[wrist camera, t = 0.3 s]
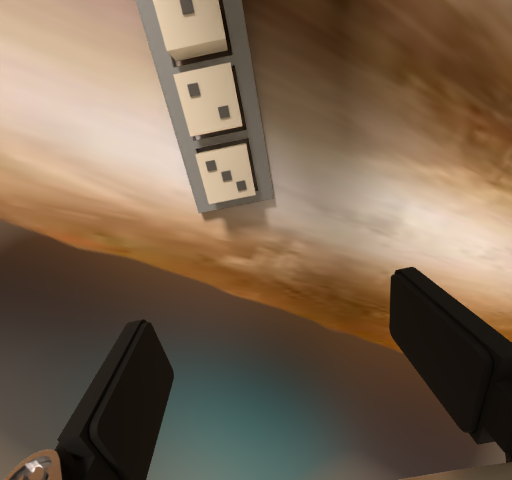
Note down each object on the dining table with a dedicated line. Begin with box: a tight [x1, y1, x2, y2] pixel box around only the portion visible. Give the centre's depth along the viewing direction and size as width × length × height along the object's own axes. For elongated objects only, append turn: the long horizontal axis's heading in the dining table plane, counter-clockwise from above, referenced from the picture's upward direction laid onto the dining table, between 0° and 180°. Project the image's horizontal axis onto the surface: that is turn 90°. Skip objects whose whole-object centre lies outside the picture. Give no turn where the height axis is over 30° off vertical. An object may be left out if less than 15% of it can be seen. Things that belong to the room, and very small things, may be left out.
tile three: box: [195, 143, 256, 204], centre depth 32 cm, size 6×6×4 cm
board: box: [136, 0, 274, 213], centre depth 31 cm, size 11×26×2 cm, turn 11°
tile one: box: [153, 0, 227, 61], centre depth 25 cm, size 6×6×4 cm
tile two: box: [173, 62, 242, 137], centre depth 29 cm, size 6×6×4 cm
